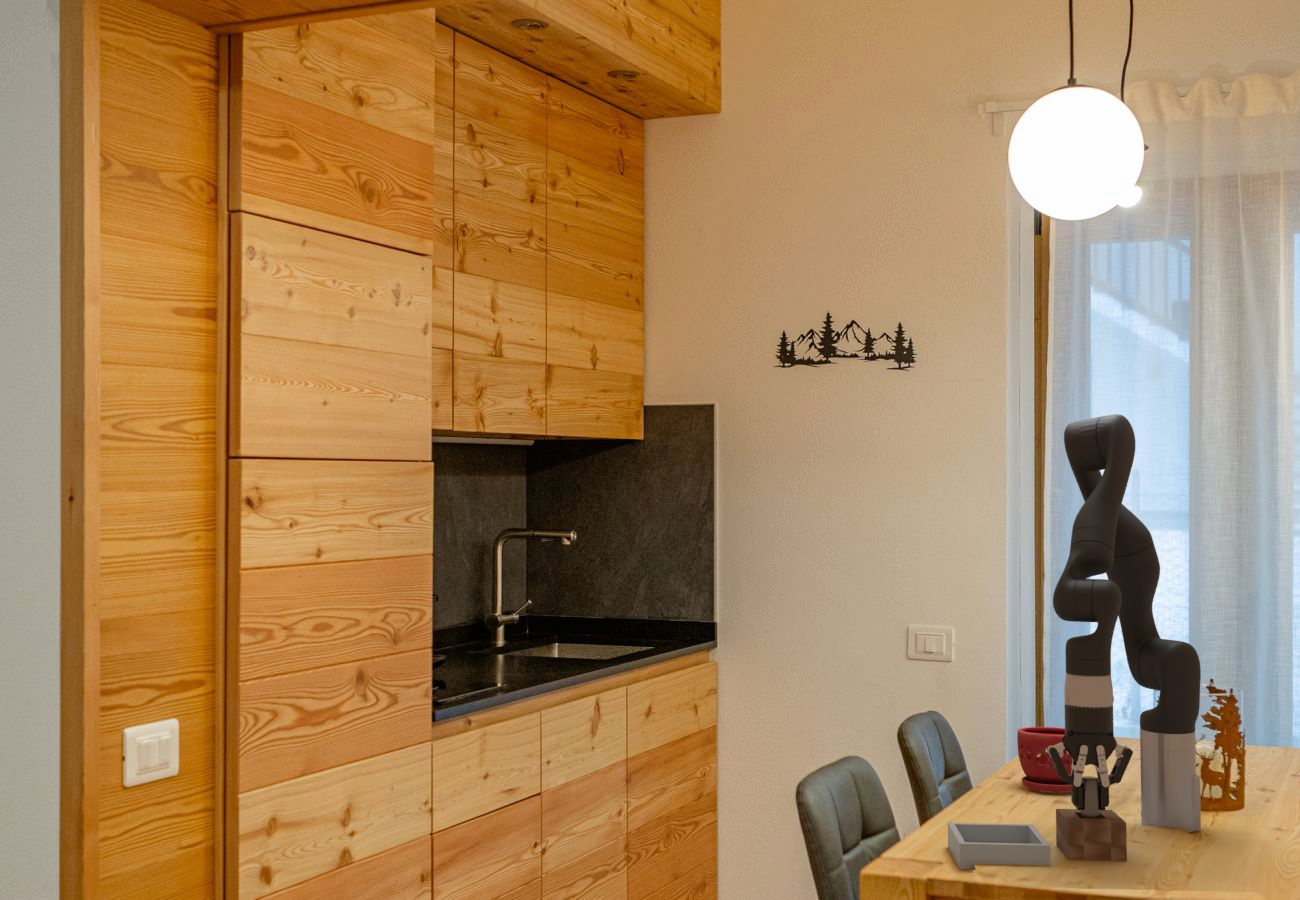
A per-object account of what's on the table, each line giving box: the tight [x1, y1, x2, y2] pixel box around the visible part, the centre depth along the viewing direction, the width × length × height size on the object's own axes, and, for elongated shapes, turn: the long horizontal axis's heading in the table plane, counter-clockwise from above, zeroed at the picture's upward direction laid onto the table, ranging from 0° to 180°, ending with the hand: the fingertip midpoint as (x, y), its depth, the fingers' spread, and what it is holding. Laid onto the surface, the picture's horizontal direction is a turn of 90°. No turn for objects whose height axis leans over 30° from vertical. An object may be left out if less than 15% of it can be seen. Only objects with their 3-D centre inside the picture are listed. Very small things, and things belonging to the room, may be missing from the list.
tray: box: [947, 822, 1052, 871], centre depth 215 cm, size 14×14×4 cm
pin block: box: [1055, 808, 1128, 862], centre depth 215 cm, size 9×9×7 cm
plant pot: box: [1016, 726, 1073, 795], centre depth 269 cm, size 13×13×12 cm
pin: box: [1081, 775, 1100, 819], centre depth 215 cm, size 3×3×12 cm
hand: (1090, 808), depth 215 cm, fingers closed on pin, 3 cm apart
